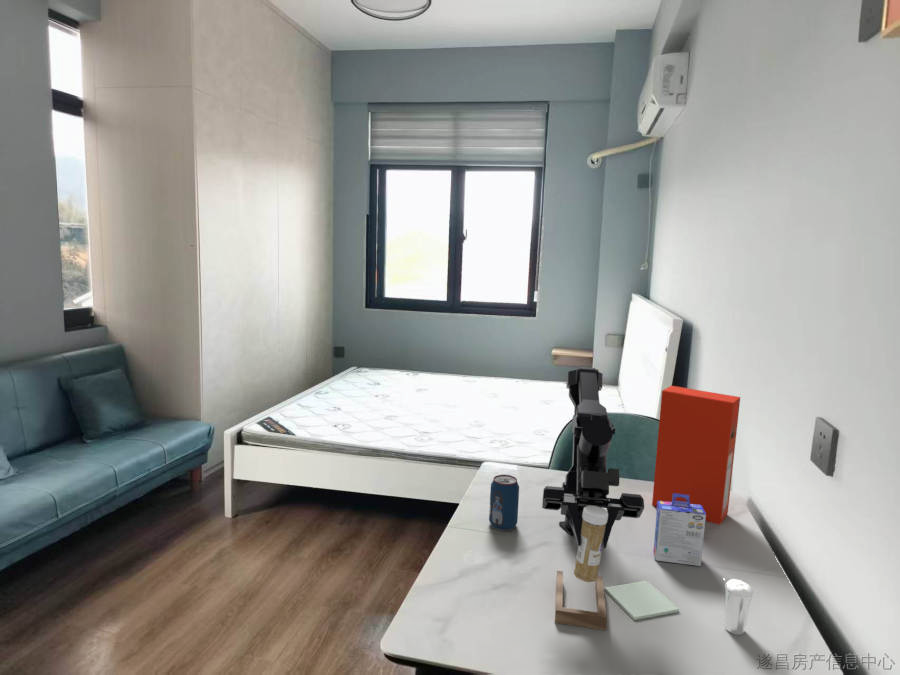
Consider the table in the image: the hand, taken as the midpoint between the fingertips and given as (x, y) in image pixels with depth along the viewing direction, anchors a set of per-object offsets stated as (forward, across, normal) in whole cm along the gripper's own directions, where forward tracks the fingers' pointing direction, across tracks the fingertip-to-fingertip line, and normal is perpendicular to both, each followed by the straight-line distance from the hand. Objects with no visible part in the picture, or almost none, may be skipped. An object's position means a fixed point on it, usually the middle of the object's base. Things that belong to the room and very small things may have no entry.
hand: (591, 546), depth 110 cm
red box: (-26, +30, +46) cm, 61 cm away
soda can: (-12, -18, +32) cm, 39 cm away
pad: (+5, +11, +13) cm, 18 cm away
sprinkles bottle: (+4, -1, +6) cm, 7 cm away
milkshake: (+10, +26, +9) cm, 29 cm away
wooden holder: (+8, -1, +11) cm, 13 cm away
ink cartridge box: (-8, +21, +27) cm, 35 cm away
